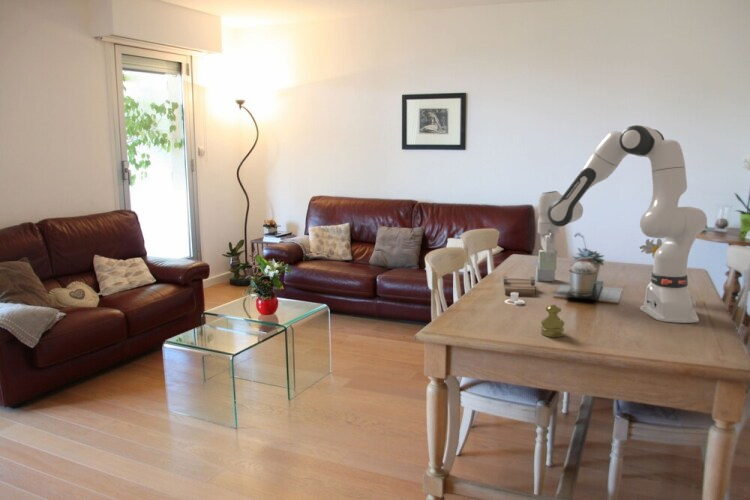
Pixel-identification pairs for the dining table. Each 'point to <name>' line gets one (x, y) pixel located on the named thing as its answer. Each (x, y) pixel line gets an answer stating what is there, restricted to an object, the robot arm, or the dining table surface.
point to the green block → (547, 265)
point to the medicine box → (544, 274)
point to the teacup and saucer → (515, 299)
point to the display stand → (519, 286)
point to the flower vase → (651, 248)
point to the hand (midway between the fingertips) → (547, 260)
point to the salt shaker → (552, 323)
